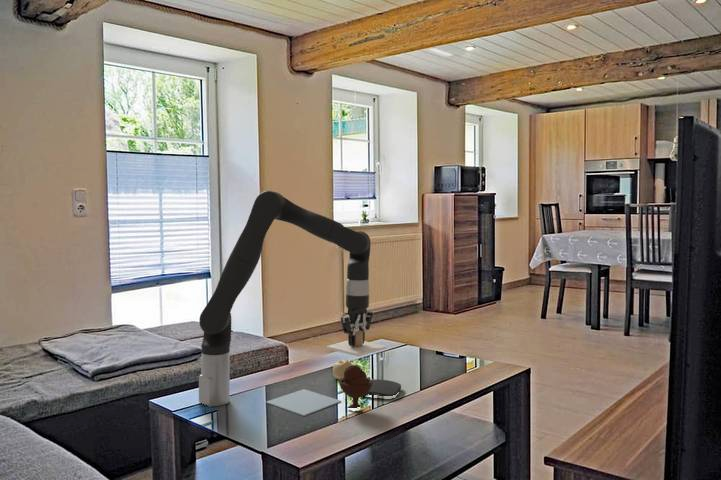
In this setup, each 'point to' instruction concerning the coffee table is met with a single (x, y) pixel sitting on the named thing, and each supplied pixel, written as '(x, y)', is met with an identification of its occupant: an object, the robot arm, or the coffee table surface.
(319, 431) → the coffee table surface
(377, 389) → the media streaming box
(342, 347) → the cover sheet
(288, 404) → the rubber mat
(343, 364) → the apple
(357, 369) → the ice cream bowl
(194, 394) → the coffee table surface
